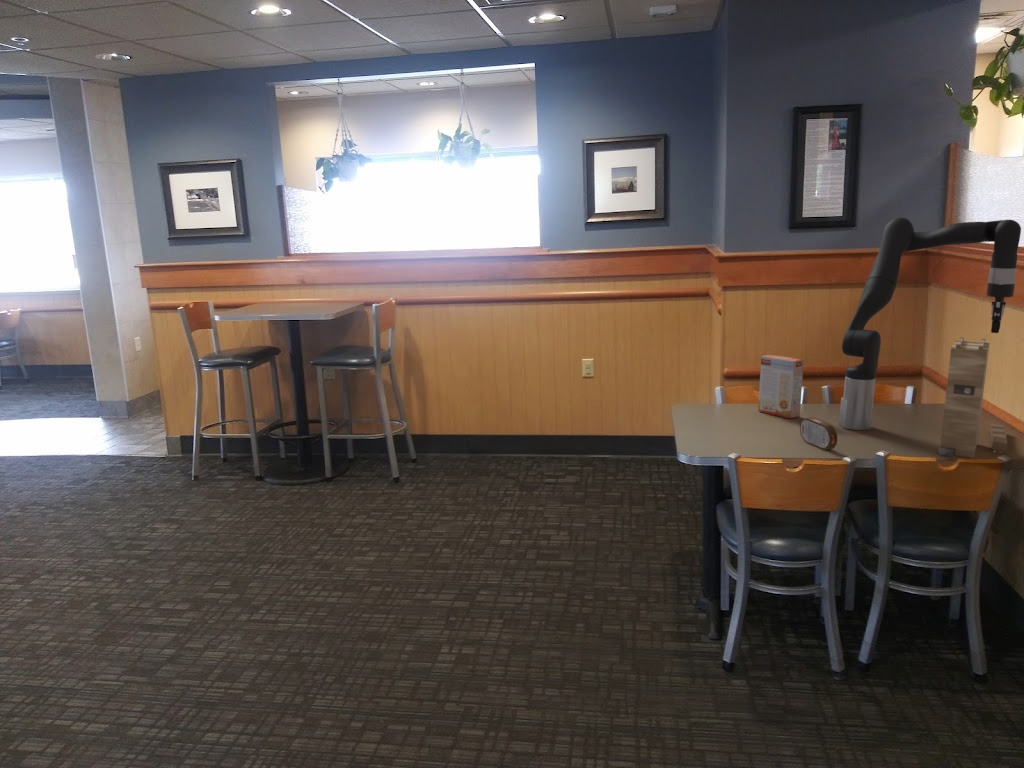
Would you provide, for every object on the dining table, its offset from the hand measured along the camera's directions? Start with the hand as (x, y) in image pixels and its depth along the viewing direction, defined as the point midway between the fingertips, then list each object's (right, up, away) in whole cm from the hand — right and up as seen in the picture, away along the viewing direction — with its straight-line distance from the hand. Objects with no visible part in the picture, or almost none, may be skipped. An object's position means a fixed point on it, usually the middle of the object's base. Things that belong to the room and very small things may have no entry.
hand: (995, 331), depth 256 cm
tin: (-65, -37, -15) cm, 76 cm away
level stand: (-25, -38, -21) cm, 50 cm away
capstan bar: (-8, -36, -13) cm, 39 cm away
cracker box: (-64, -29, +23) cm, 74 cm away
